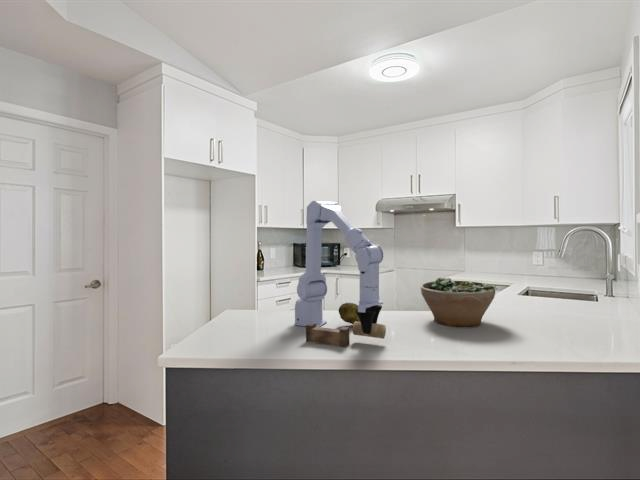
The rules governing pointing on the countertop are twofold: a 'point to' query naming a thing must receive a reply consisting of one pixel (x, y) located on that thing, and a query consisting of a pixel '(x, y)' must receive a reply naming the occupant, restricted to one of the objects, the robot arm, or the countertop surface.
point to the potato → (349, 312)
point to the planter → (458, 301)
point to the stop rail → (327, 335)
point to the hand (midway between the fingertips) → (369, 331)
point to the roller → (376, 330)
